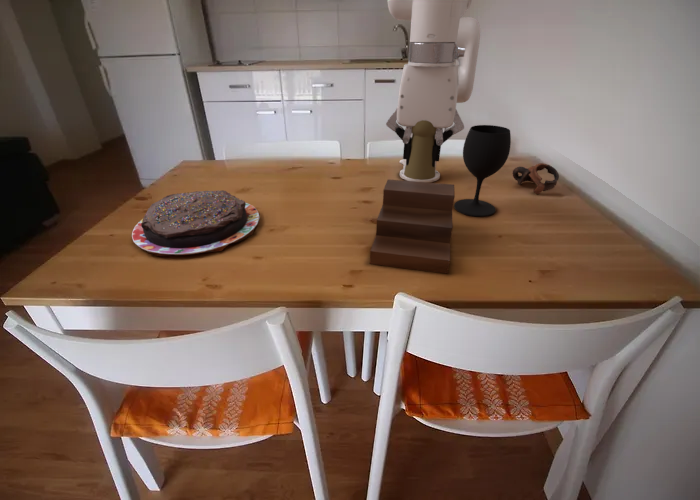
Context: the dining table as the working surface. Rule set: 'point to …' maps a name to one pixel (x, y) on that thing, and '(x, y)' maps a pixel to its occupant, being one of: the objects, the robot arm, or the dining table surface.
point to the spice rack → (414, 226)
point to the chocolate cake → (195, 223)
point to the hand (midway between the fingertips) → (420, 162)
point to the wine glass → (483, 163)
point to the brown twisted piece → (536, 176)
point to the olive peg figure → (421, 152)
